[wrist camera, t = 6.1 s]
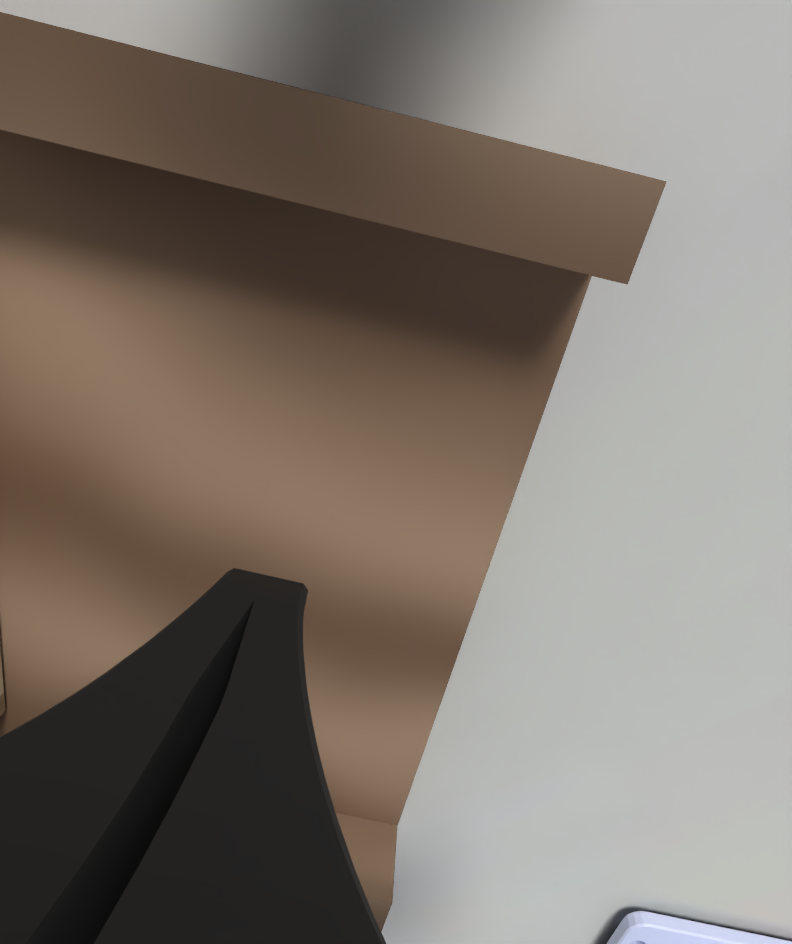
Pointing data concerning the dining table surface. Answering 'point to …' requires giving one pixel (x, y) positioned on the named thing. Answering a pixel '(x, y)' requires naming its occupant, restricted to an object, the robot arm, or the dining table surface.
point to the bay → (272, 377)
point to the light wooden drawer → (1, 689)
